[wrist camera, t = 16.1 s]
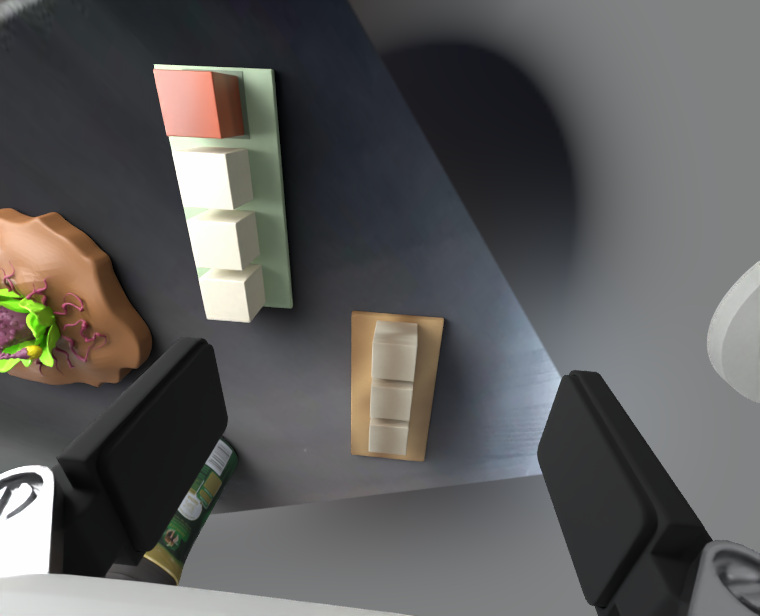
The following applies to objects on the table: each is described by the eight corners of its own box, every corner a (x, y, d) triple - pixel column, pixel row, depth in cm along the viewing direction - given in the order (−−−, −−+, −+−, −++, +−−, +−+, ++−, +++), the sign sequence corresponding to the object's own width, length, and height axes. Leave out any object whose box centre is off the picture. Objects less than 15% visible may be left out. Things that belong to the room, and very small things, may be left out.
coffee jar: (199, 479, 52) (100, 649, 36) (158, 443, 49) (29, 609, 33) (251, 460, 49) (169, 635, 33) (211, 419, 46) (98, 590, 30)
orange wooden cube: (237, 75, 28) (211, 71, 24) (245, 135, 29) (221, 139, 26) (185, 73, 28) (152, 68, 24) (196, 132, 30) (166, 136, 26)
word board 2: (443, 317, 36) (446, 343, 32) (423, 458, 46) (424, 491, 42) (352, 310, 37) (344, 335, 33) (351, 450, 46) (345, 483, 42)
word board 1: (274, 69, 28) (249, 63, 24) (293, 305, 37) (278, 329, 33) (158, 65, 28) (115, 58, 24) (206, 299, 38) (181, 321, 34)
